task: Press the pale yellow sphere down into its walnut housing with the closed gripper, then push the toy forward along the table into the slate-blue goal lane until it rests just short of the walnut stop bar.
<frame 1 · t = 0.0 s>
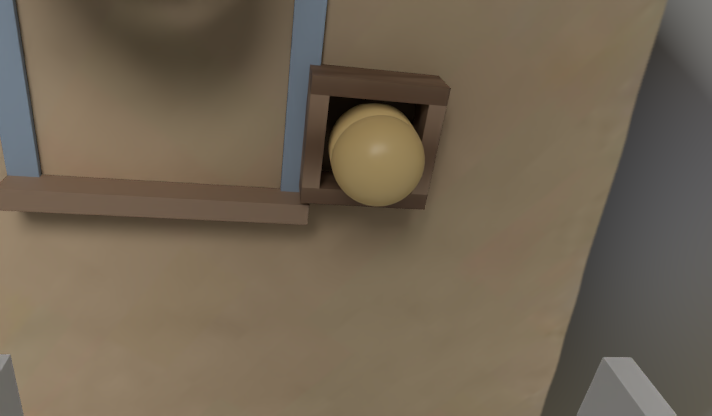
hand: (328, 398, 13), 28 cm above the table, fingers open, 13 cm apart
pale yellow sphere: (377, 159, 35), point 5 cm above the table, slide at 0.0 cm
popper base: (366, 131, 40), on the table
goal lane: (162, 86, 36), on the table
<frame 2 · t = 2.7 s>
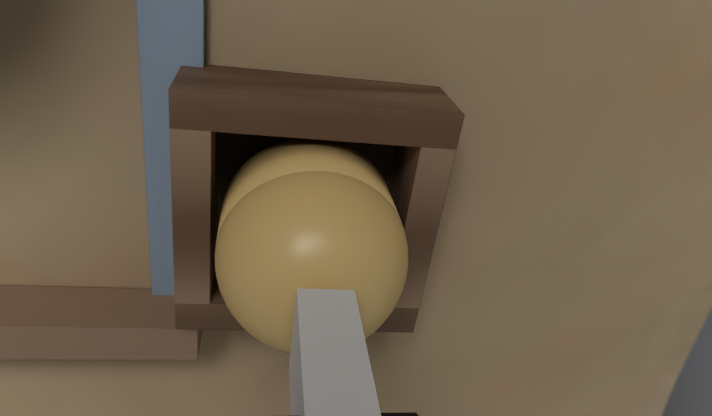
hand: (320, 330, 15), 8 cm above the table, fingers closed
pale yellow sphere: (312, 257, 17), point 5 cm above the table, slide at 0.4 cm, touching gripper
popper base: (305, 189, 21), on the table
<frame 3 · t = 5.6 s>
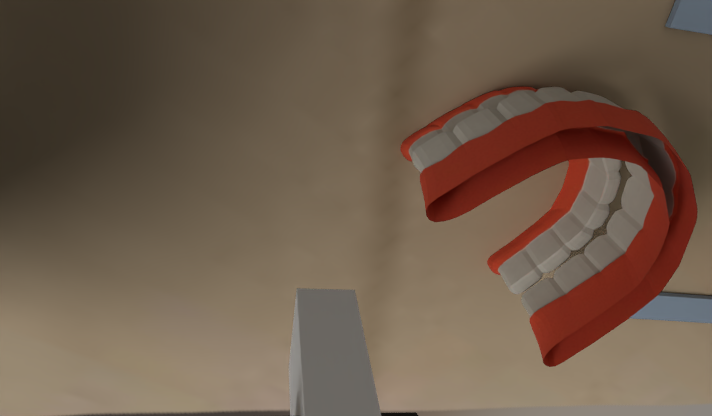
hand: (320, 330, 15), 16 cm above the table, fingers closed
toy: (522, 161, 31), on the table
goal lane: (710, 182, 33), on the table
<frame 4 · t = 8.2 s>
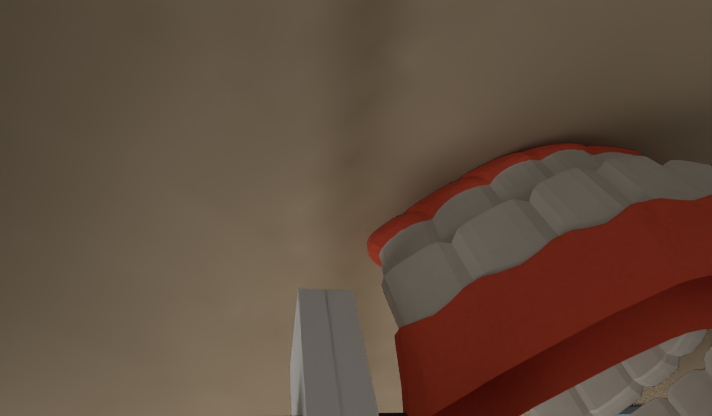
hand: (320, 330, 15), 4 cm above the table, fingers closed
toy: (560, 249, 20), on the table, touching gripper
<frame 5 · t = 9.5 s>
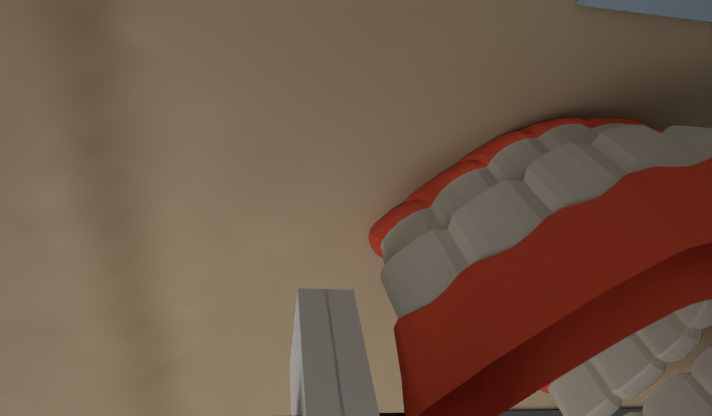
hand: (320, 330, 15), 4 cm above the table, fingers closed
toy: (569, 228, 19), on the table, touching gripper
goal lane: (677, 255, 21), on the table
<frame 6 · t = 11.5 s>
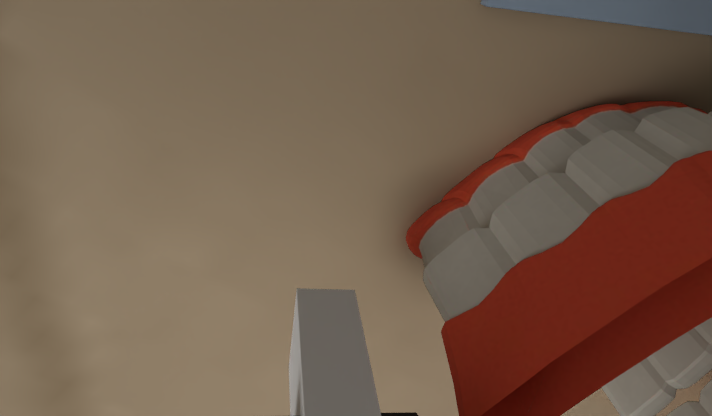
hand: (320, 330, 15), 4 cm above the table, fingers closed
toy: (611, 216, 19), on the table
goal lane: (610, 268, 20), on the table
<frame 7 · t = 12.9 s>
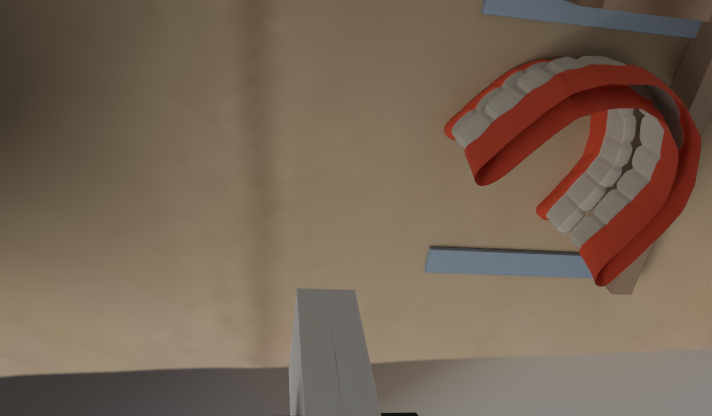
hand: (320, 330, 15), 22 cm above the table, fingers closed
toy: (549, 120, 37), on the table
goal lane: (550, 149, 37), on the table
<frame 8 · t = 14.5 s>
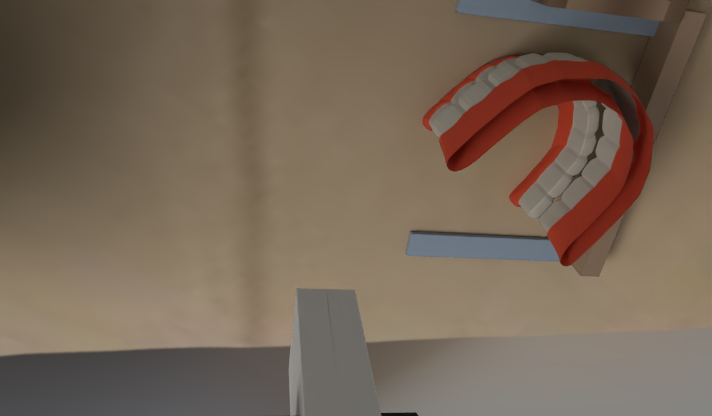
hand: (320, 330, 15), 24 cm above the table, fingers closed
toy: (520, 113, 39), on the table
goal lane: (522, 139, 40), on the table
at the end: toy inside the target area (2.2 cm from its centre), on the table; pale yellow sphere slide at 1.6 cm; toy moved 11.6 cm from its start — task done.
